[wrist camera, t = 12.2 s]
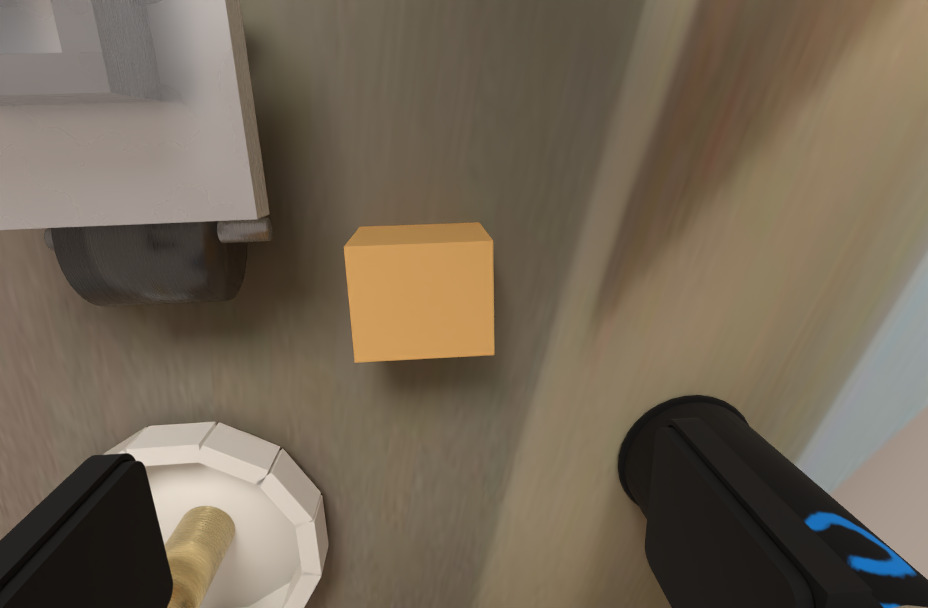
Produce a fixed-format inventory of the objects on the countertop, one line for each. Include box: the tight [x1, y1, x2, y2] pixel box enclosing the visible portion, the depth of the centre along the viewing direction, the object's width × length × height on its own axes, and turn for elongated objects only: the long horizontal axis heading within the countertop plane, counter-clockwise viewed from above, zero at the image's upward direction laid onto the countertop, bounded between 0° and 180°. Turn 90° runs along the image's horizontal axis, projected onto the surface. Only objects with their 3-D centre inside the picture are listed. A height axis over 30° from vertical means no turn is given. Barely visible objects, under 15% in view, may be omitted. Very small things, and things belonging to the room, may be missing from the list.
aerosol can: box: [618, 395, 928, 608], centre depth 22 cm, size 8×8×20 cm
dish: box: [102, 422, 329, 608], centre depth 29 cm, size 13×13×3 cm
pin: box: [164, 506, 235, 608], centre depth 25 cm, size 3×3×9 cm
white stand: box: [0, 0, 272, 307], centre depth 19 cm, size 11×16×10 cm
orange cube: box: [344, 222, 494, 363], centre depth 24 cm, size 6×5×6 cm
